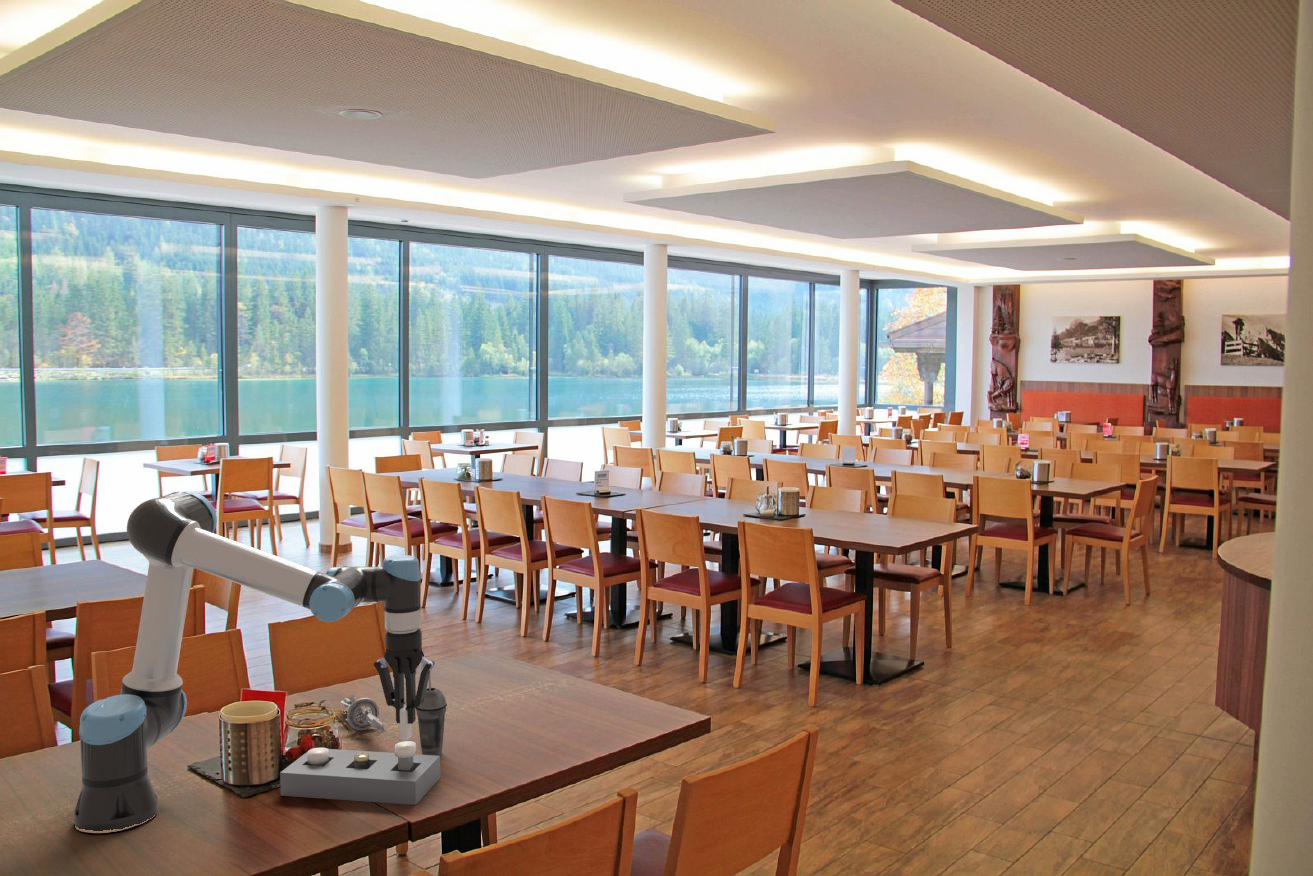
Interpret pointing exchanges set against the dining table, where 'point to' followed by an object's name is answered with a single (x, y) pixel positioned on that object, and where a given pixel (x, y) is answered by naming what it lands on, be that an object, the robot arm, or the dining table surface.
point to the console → (361, 778)
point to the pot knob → (361, 761)
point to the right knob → (405, 754)
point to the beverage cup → (432, 721)
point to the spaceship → (362, 713)
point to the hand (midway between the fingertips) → (406, 737)
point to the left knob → (318, 756)
